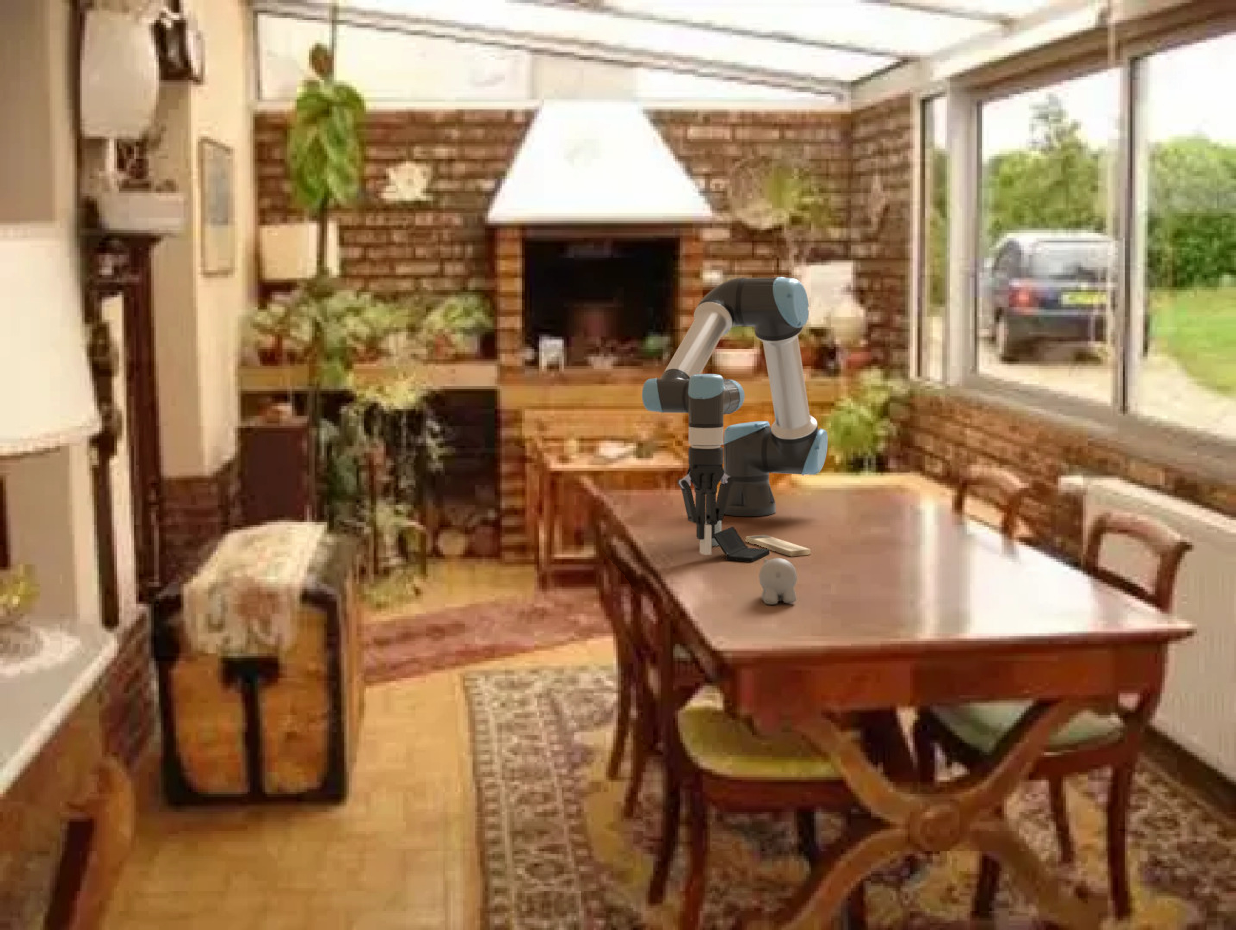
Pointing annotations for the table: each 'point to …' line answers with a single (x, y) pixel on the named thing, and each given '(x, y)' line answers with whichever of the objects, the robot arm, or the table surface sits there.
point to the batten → (778, 545)
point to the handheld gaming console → (737, 547)
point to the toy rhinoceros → (778, 581)
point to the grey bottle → (717, 529)
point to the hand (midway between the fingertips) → (705, 553)
